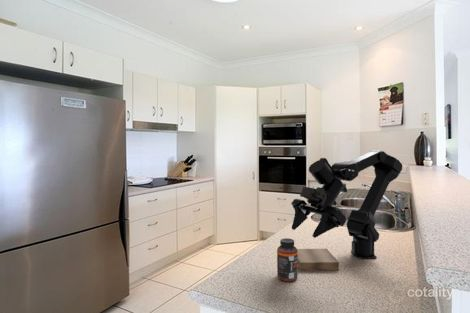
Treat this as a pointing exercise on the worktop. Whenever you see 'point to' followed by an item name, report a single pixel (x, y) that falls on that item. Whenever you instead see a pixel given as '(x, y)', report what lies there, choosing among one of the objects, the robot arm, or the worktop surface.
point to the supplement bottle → (287, 260)
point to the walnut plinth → (316, 259)
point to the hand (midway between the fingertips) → (302, 232)
